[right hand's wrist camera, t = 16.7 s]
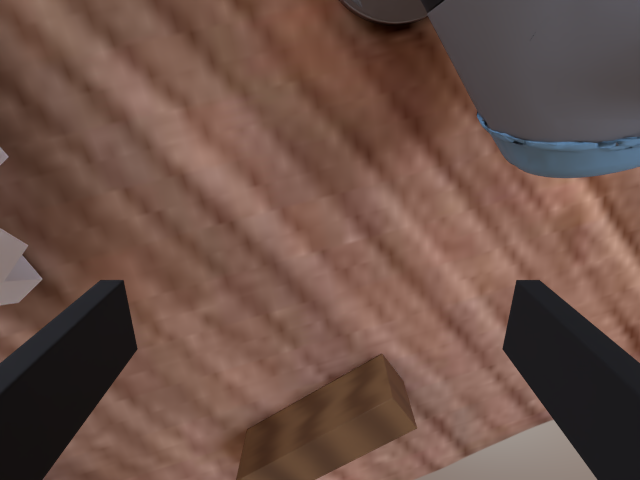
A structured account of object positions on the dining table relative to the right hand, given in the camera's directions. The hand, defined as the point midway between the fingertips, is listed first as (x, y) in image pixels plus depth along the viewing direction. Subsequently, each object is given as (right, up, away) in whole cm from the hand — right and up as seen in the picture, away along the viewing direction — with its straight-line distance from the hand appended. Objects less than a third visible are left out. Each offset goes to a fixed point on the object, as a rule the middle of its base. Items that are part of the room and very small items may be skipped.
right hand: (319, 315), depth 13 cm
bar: (0, -21, +41) cm, 46 cm away
